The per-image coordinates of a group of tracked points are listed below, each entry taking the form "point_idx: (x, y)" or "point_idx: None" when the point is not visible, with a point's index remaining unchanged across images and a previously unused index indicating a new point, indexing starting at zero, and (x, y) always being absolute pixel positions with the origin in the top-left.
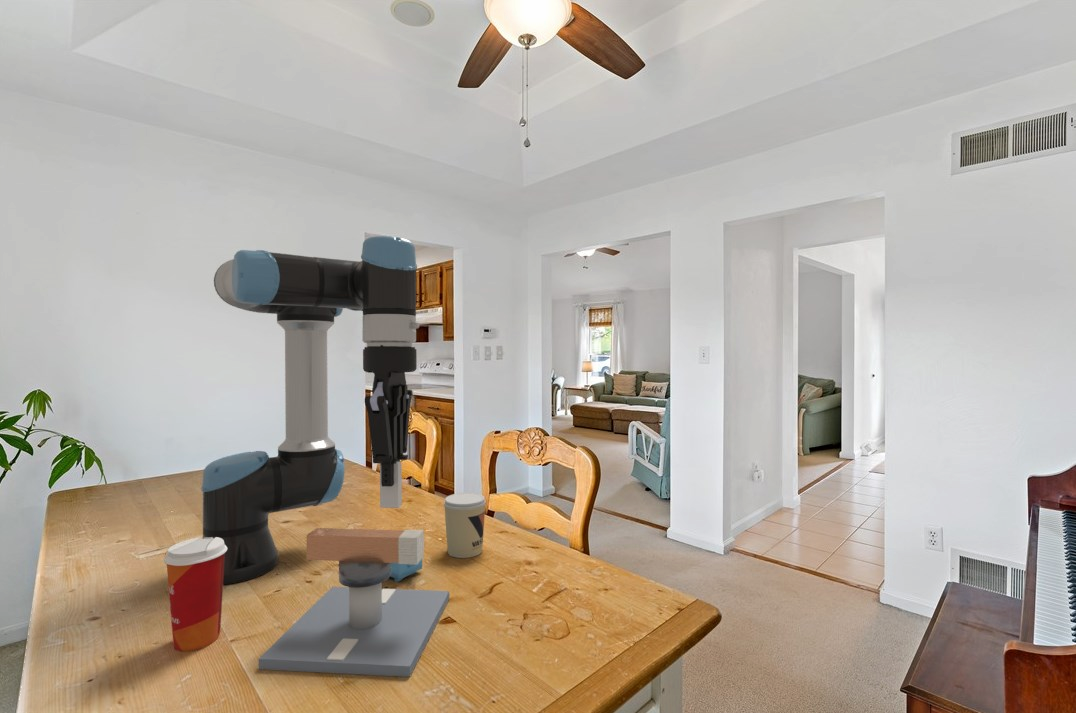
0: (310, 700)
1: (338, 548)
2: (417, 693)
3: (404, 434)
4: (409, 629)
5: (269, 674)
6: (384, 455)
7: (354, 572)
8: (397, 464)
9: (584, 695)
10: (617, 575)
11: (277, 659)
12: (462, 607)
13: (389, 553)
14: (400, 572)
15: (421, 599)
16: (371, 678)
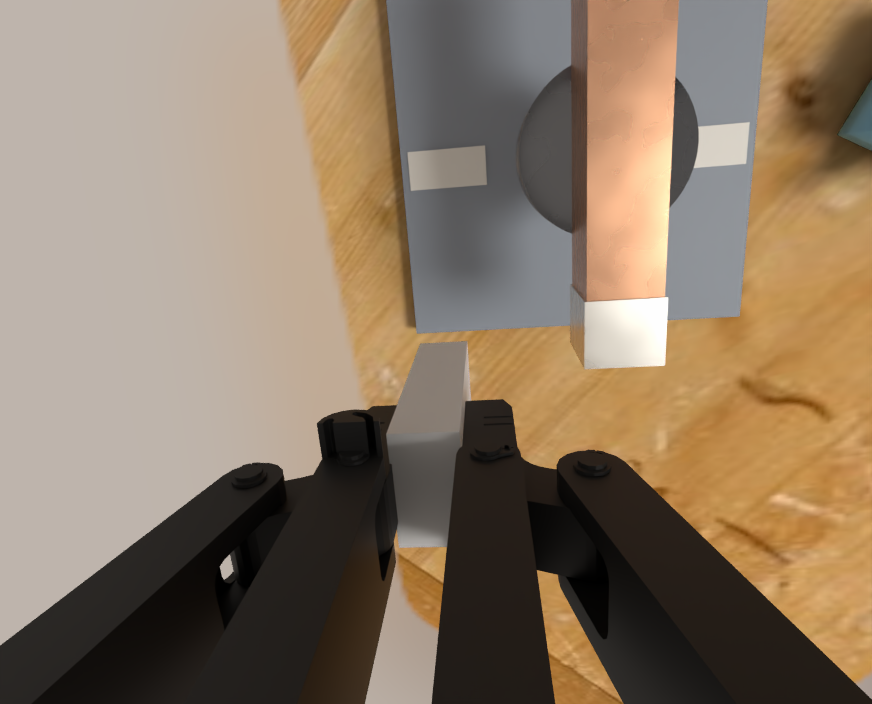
0: (325, 174)
1: (578, 53)
2: (380, 356)
3: (612, 681)
4: (544, 282)
5: (377, 29)
6: (235, 565)
7: (518, 157)
8: (399, 539)
9: (422, 594)
10: (852, 662)
11: (389, 31)
12: (688, 353)
13: (577, 257)
14: (853, 134)
15: (689, 258)
16: (403, 258)
